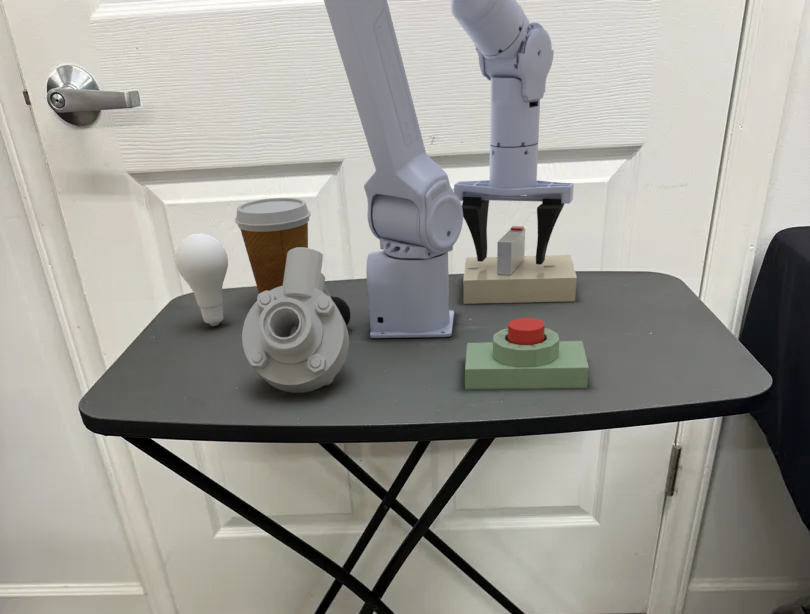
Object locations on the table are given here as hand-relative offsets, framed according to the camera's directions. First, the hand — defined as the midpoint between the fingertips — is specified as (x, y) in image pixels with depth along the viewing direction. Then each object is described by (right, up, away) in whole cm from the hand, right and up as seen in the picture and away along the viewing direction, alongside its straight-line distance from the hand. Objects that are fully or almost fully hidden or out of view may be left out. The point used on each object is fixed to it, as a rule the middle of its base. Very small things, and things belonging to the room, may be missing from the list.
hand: (510, 260), depth 100 cm
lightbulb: (-38, -9, -3) cm, 39 cm away
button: (-2, -16, -22) cm, 27 cm away
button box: (-1, -19, -20) cm, 28 cm away
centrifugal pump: (-24, -16, -14) cm, 32 cm away
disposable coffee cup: (-30, -4, +4) cm, 30 cm away
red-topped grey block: (0, -1, 0) cm, 1 cm away
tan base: (+1, -3, +2) cm, 4 cm away
